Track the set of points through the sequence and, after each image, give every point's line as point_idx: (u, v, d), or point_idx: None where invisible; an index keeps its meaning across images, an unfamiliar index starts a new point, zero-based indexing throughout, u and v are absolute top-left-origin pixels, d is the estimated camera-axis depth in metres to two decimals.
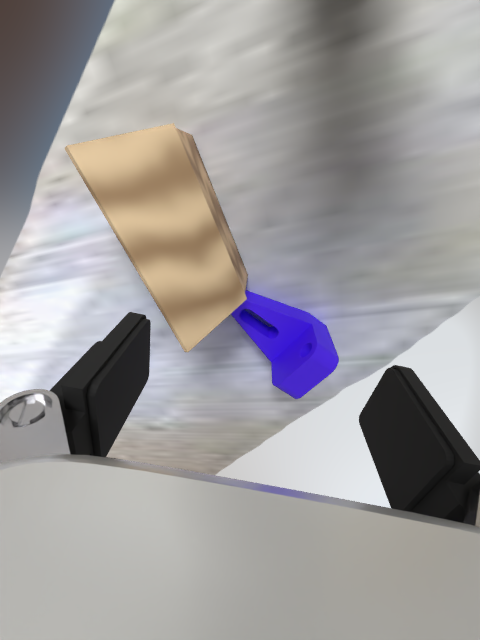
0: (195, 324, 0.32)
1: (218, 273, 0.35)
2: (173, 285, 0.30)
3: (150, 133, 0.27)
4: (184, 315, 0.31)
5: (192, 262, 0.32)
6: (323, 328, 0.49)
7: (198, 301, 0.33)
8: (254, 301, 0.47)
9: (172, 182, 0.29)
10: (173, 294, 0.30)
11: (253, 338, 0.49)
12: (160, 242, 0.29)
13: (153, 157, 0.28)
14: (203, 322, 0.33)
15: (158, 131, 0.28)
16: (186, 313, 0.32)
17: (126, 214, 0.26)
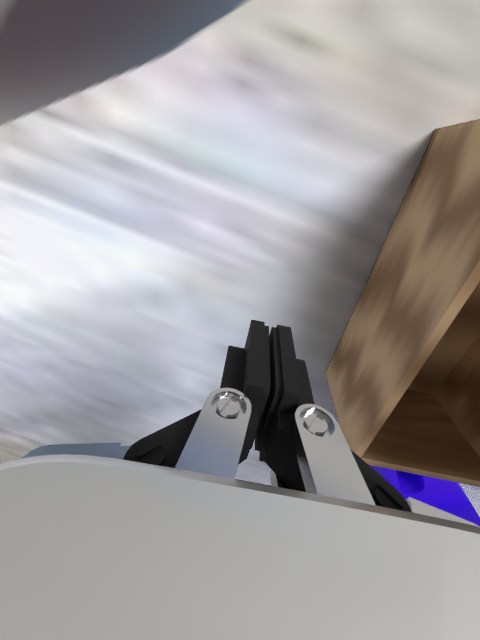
0: None
1: None
2: None
3: None
4: None
5: None
6: None
7: None
8: None
9: None
10: None
11: None
12: None
13: None
14: None
15: None
16: None
17: None
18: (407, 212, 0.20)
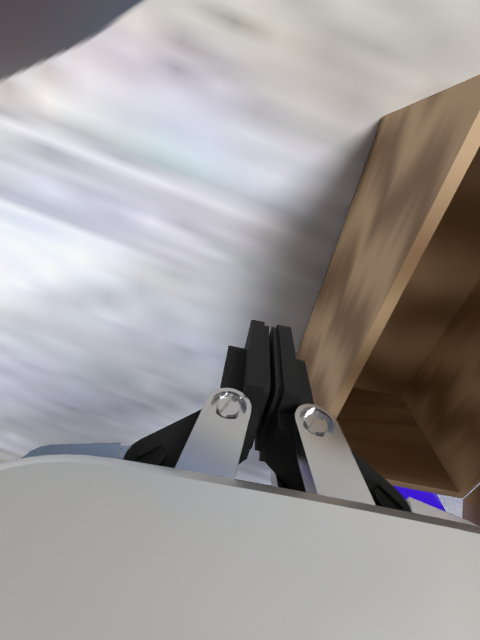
0: None
1: None
2: None
3: None
4: None
5: None
6: None
7: None
8: None
9: None
10: None
11: None
12: None
13: None
14: None
15: None
16: None
17: None
18: (357, 205, 0.19)
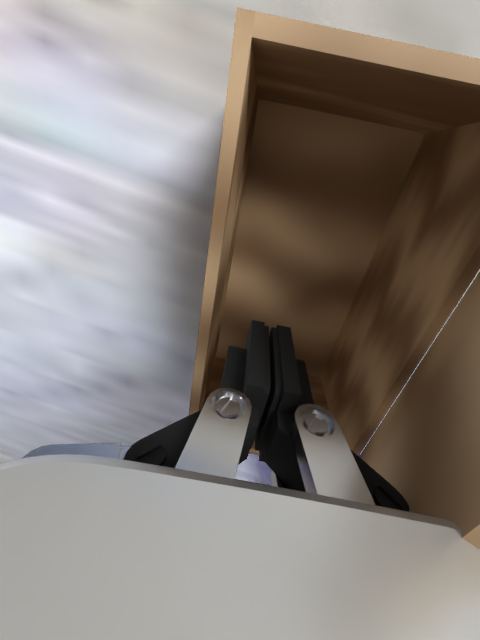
0: None
1: None
2: None
3: None
4: None
5: None
6: None
7: None
8: None
9: None
10: None
11: None
12: None
13: None
14: None
15: None
16: None
17: None
18: None
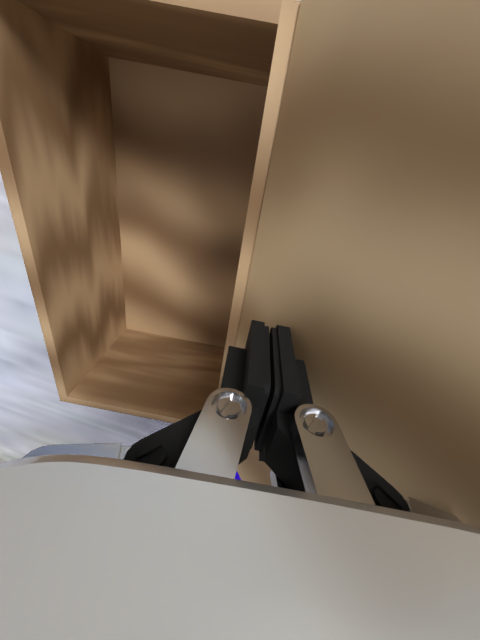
0: None
1: None
2: None
3: None
4: None
5: None
6: None
7: None
8: None
9: None
10: None
11: None
12: None
13: None
14: None
15: None
16: None
17: None
18: None
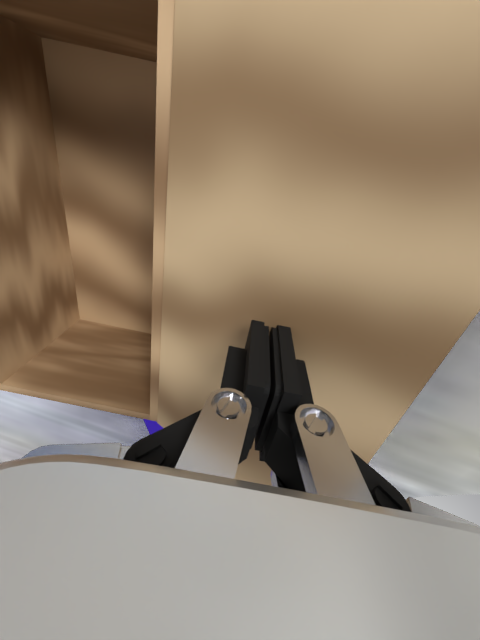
0: None
1: None
2: None
3: None
4: None
5: None
6: None
7: None
8: None
9: None
10: None
11: None
12: None
13: None
14: None
15: None
16: None
17: None
18: None
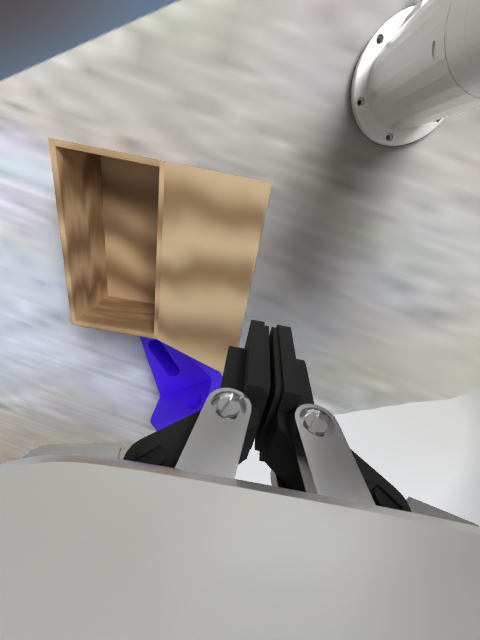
0: None
1: None
2: None
3: None
4: None
5: None
6: None
7: None
8: None
9: None
10: None
11: (152, 368, 0.48)
12: None
13: None
14: None
15: None
16: None
17: None
18: None
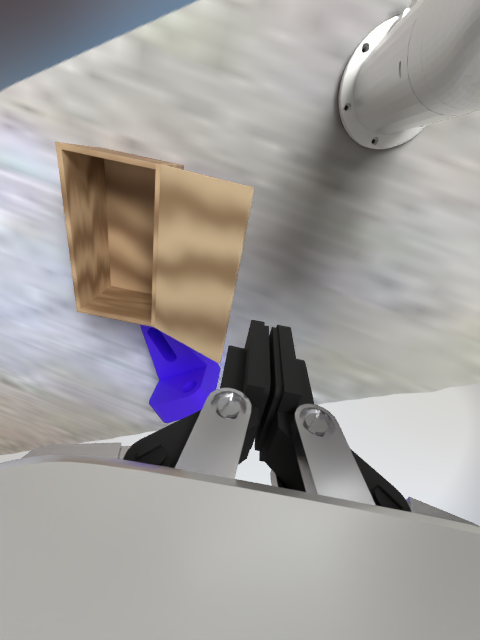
0: None
1: None
2: None
3: None
4: None
5: None
6: (216, 370, 0.55)
7: None
8: None
9: None
10: None
11: (152, 354, 0.52)
12: None
13: None
14: None
15: None
16: None
17: None
18: None
